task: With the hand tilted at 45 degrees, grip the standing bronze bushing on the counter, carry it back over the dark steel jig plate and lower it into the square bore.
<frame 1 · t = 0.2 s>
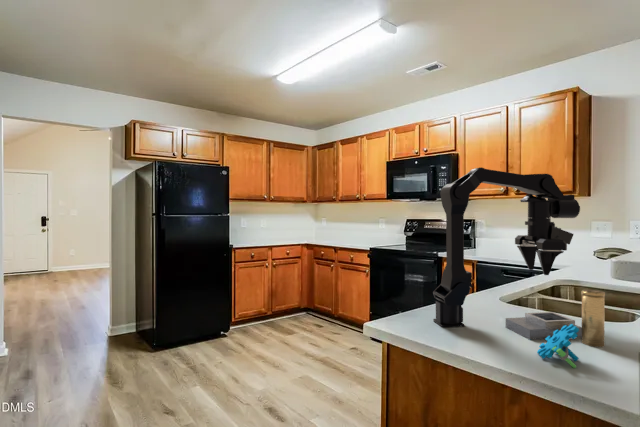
hand: (538, 272, 109), 14 cm above the counter, tool pointing down, fingers open, 9 cm apart
blue green toy: (558, 360, 81), on the counter
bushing: (592, 343, 90), on the counter
jig: (542, 332, 99), on the counter
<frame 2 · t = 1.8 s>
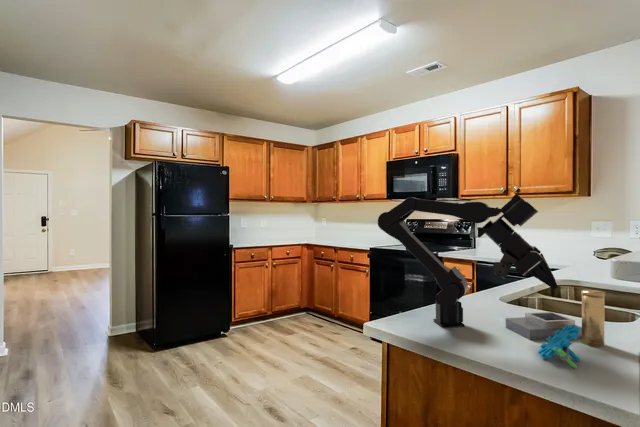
hand: (555, 284, 94), 13 cm above the counter, tool tilted 45°, fingers open, 9 cm apart
nothing on the counter moved.
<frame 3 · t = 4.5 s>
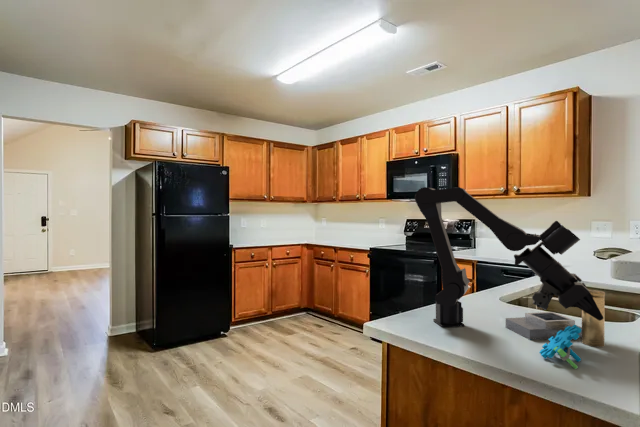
hand: (600, 316, 90), 7 cm above the counter, tool tilted 45°, fingers closed on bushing, 4 cm apart
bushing: (593, 343, 90), on the counter, touching gripper
everything else where it was.
when the fingers open (8 cm above the counter, at t = 7.9 s): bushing drops 1 cm, resting in jig.
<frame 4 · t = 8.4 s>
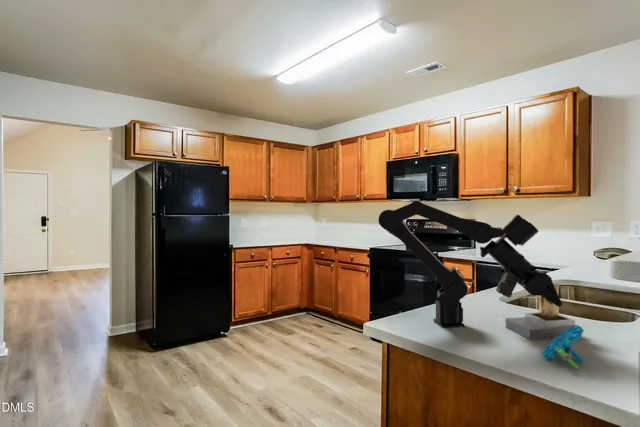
hand: (555, 301, 99), 8 cm above the counter, tool tilted 45°, fingers open, 9 cm apart
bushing: (548, 331, 99), resting in jig
everything else where it was.
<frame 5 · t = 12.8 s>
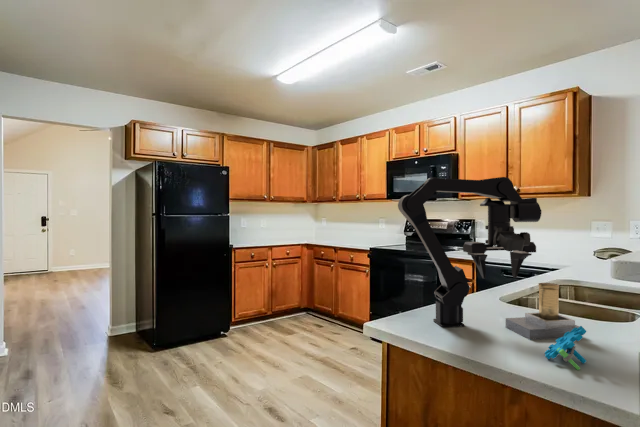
hand: (499, 277, 106), 13 cm above the counter, tool pointing down, fingers open, 9 cm apart
at the end: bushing 0.1 cm from the target spot on the jig, point 0.0 cm above the jig's base; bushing tilted 0°; the gripper is holding nothing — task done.
